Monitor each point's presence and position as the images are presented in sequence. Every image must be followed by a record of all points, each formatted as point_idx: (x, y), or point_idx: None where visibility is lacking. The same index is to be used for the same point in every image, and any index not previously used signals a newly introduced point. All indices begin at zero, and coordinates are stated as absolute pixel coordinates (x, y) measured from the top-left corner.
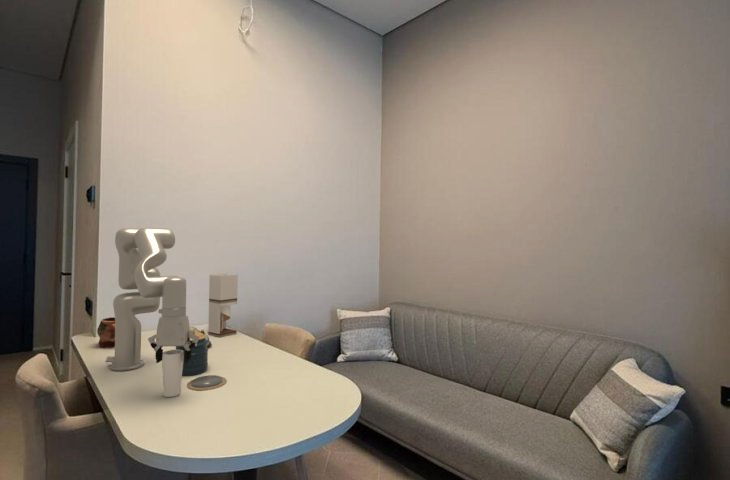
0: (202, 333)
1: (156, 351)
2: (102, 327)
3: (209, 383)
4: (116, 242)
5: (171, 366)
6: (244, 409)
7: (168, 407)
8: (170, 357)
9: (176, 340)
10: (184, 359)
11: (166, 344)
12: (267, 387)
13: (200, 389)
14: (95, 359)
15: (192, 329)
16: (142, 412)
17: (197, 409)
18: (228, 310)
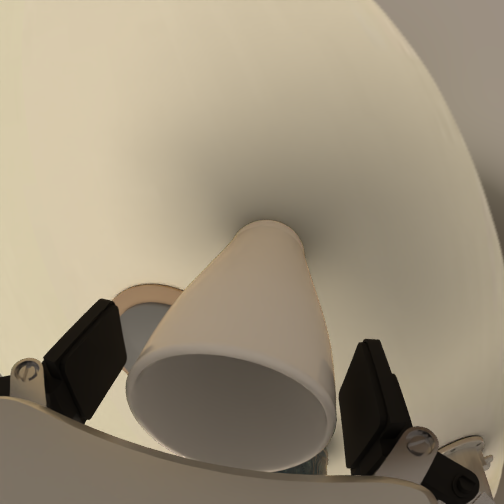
0: None
1: (406, 420)
2: None
3: (139, 324)
4: None
5: (223, 275)
6: (4, 113)
7: (228, 104)
8: (210, 322)
9: (29, 490)
10: (278, 471)
11: (245, 496)
12: (3, 273)
13: (160, 287)
14: (492, 466)
15: None
16: (326, 63)
17: (108, 90)
18: None
